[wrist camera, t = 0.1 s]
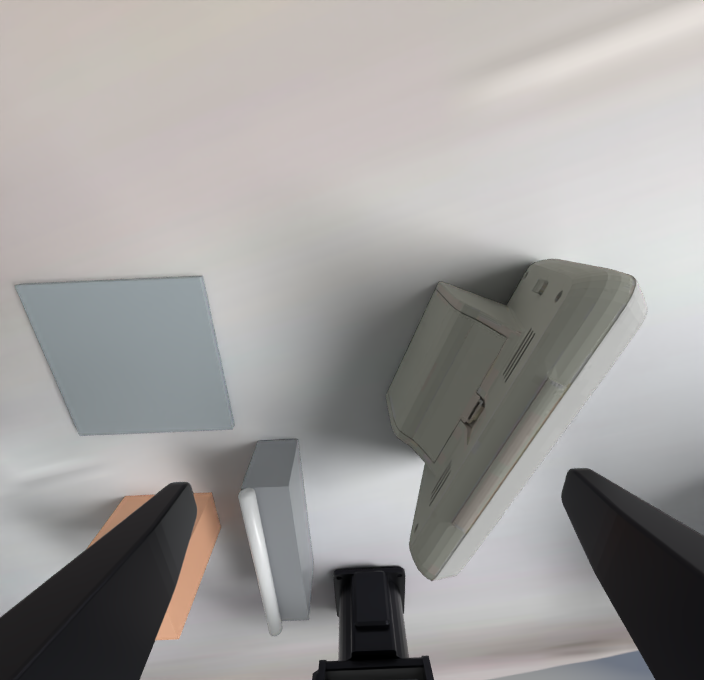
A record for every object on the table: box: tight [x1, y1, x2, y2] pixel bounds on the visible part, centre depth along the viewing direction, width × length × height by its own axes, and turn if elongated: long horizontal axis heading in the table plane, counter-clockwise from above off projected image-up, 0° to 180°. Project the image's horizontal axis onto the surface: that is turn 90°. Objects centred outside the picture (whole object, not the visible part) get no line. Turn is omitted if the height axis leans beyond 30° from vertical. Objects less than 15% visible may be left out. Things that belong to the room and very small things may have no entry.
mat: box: [15, 276, 234, 436], centre depth 23 cm, size 11×11×1 cm
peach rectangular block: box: [88, 492, 221, 640], centre depth 25 cm, size 4×7×8 cm, turn 92°
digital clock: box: [386, 259, 647, 581], centre depth 18 cm, size 16×9×11 cm, turn 149°
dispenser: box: [238, 439, 314, 636], centre depth 26 cm, size 14×3×6 cm, turn 2°
